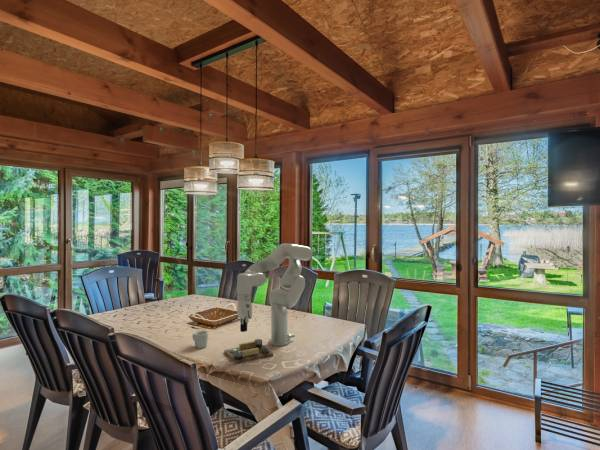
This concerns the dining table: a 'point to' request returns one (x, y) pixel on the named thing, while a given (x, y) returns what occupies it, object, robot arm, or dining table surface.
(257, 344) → the ball knob lever
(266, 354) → the base plate
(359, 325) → the dining table surface
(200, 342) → the cup
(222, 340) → the dining table surface
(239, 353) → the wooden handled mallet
